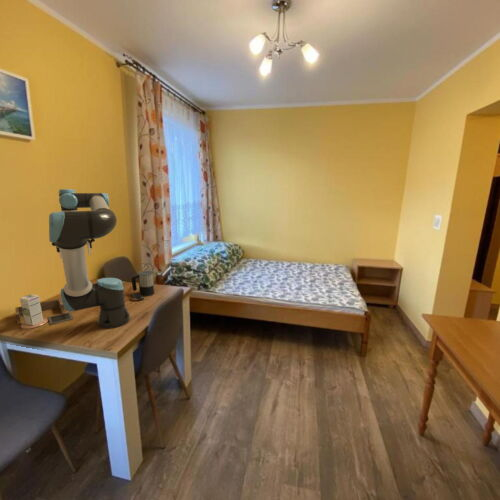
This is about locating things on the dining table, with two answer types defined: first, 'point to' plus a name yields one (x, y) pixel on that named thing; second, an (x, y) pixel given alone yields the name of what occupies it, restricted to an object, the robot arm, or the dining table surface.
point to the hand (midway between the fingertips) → (75, 256)
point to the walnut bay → (42, 307)
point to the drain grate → (60, 318)
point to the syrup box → (31, 309)
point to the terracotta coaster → (25, 326)
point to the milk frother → (143, 284)
